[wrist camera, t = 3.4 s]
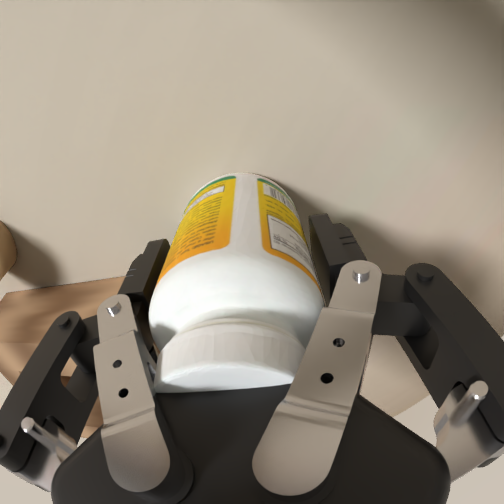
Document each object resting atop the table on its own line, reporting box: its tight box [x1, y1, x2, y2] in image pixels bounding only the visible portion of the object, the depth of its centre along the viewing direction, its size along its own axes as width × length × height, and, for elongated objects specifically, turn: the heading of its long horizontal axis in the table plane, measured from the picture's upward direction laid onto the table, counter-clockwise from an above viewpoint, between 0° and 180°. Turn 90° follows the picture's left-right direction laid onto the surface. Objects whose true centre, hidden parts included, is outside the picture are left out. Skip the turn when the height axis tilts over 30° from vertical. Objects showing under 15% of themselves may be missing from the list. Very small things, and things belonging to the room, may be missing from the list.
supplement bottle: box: [149, 173, 325, 393], centre depth 11 cm, size 5×5×10 cm
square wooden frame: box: [0, 276, 160, 438], centre depth 18 cm, size 12×12×5 cm
